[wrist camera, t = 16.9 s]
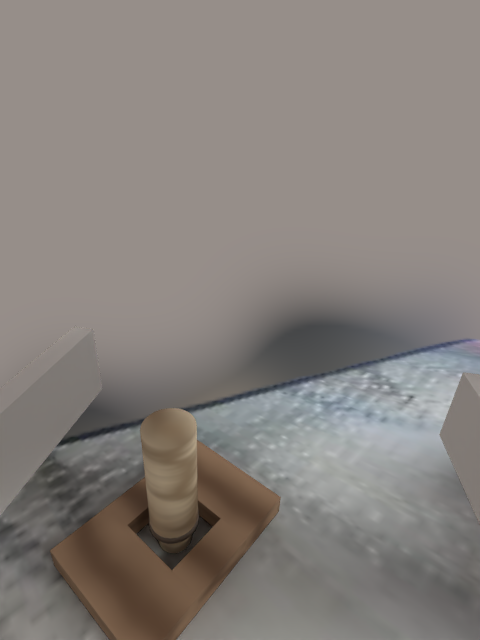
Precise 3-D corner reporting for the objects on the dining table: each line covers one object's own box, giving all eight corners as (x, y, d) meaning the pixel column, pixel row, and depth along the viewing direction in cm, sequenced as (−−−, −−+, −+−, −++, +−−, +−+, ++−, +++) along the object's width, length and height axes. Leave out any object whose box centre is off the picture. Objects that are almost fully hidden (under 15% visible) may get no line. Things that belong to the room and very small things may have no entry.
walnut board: (195, 451, 52) (194, 438, 51) (278, 511, 44) (280, 497, 43) (54, 565, 38) (49, 550, 36) (141, 682, 30) (139, 668, 29)
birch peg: (176, 506, 44) (171, 400, 37) (208, 534, 41) (209, 424, 34) (141, 539, 40) (127, 428, 33) (173, 572, 38) (165, 458, 30)
